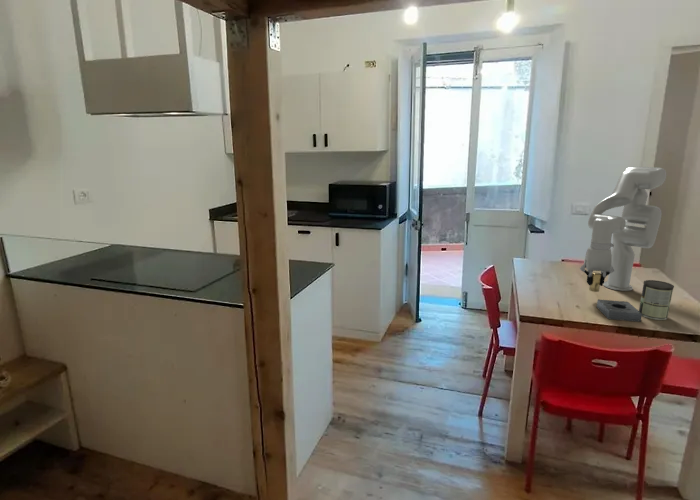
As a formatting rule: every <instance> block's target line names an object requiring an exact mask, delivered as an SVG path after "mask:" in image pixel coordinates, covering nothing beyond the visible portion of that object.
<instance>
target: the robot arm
mask: <svg viewBox="0 0 700 500" xmlns="http://www.w3.org/2000/svg"><path fill="white" fill-rule="evenodd" d="M666 180H667V171H666V169H665V168H662V167H656V166H655V167H653V166H630V167H627V168H625V169H624V170H623V172H622V173H621V174H620V176H619V178H618V181H617V182H616V185H615V187H614V189H613V191H612V194H611V195H610V196H608V197H605V198H604V199H602V200H601V201H599V202H598V203H597V204H596V205H594V208H593V209H592V212H591V213H590V216H589V217H588V223H587V224H588V228H589V229H590V230H592V232H591V241H590V247H589V246H588V248H587V250H586V253H585V255H584V256H585V257H584V262H583V264H581V266H580V267H579V270H580V271H582V272H583V273H584V274H585V275H586V283H587V285H588V286H590V285H591V284H592V277H591V275H592V273H593V272H600V273H601V274H602V275H601V282H600V287H605V288H608V289H611V290H615V291H621V292H622V291H623V292H630V291H633V288H634V287H633V285H630V284H631V278H632V273H633V267H634V261H635V255H636V254H635V251H634V249H633V248H632V247H636V248H642V249H650V248H652V247H653V246H654V245H655V242H656V239H657V235H658V232H659V227H660V224H661V220H662V216H663V214H662V213H663V212H662V210H661V208H660V207H659V206H655V205H648V204H646V203H647V202H648V201H647V200H648V195H649V194H648V192H647V191H646V190H654V189H656V188H658V187H661V186H663V184H664V183H665V181H666ZM620 207H623V210H622V212H621V216H617V215H610V214H604V213H605V212H607V211H609V210H611V209H616V208H620ZM626 223H627V224H633V225H626ZM634 225H643V226H645V227H643V226H642V227H641V226H634ZM611 248H612V249H611ZM605 278H607V281H605V280H606V279H605Z"/></svg>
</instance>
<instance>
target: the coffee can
mask: <svg viewBox="0 0 700 500" xmlns="http://www.w3.org/2000/svg"><path fill="white" fill-rule="evenodd" d="M674 288H675V286H674V284H672V283H670V282H666V281H662V280H655V279H646V280H644V281H643V285H642V291H641V295H640V296H641V297H640V302H639V307H638V308H639V309H638V311H639V312H641V313H642V317H643V318H646V319H649V320H656V321H666V320H668V318H669V317H668V316H669V311H670V306H671V301H672V297H673V292H674Z"/></svg>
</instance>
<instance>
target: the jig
mask: <svg viewBox="0 0 700 500" xmlns="http://www.w3.org/2000/svg"><path fill="white" fill-rule="evenodd" d="M596 308H597V309H598V310H599V311H600V312H601V313H602V314H603V315H604V316H605V318H607V320H614V321H615V320H616V321H626V322H628V321H629V322H636V323H637V322H639V323H640V322H641V321H642V317H643V316H642V313H641V312H639V309H637V308H636V307H635V306H633V304H631V303H630V302H629V301H625V300H624V301H621V300H611V299H609V300H608V299H597V301H596Z"/></svg>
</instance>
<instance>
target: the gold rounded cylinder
mask: <svg viewBox="0 0 700 500" xmlns="http://www.w3.org/2000/svg"><path fill="white" fill-rule="evenodd" d="M601 275H602V274H601V272H598V271H593V273H592V275H591V277H592V284H591V285H589V287H588V288H589V292H593V293H596V292H597V293H599V292H600V288H601V286H600V282H601Z"/></svg>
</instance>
